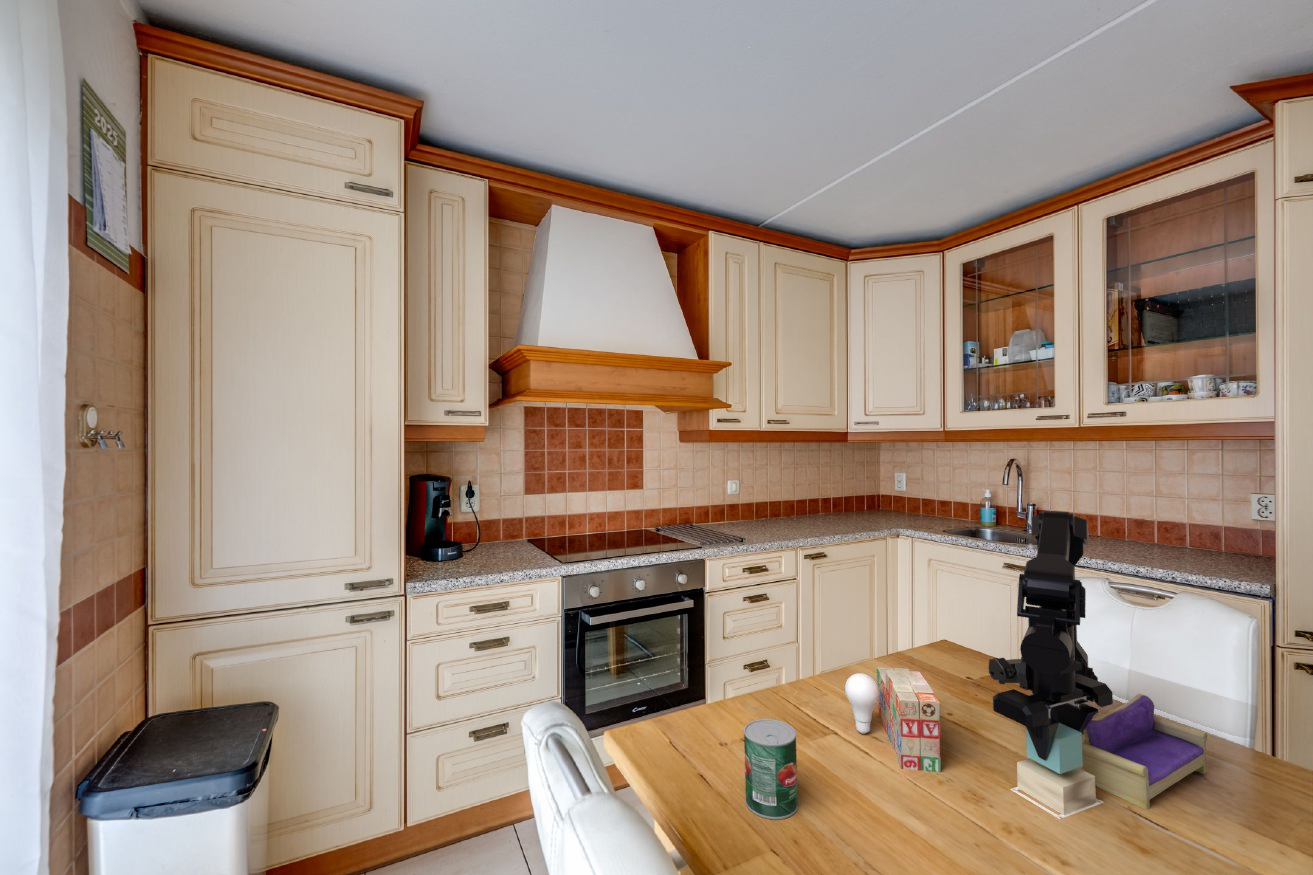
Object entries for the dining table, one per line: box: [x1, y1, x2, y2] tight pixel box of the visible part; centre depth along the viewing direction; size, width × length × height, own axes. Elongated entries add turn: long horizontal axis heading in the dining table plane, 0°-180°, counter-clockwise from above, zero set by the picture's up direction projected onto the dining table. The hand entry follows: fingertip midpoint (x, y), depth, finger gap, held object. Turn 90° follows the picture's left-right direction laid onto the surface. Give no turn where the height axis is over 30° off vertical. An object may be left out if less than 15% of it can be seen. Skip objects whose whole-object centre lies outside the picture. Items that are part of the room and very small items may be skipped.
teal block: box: [1025, 723, 1083, 774], centre depth 87 cm, size 5×5×5 cm
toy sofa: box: [1082, 693, 1208, 810], centre depth 91 cm, size 21×9×10 cm, turn 117°
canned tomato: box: [743, 718, 799, 821], centre depth 87 cm, size 8×8×11 cm
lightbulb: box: [844, 672, 880, 735], centre depth 107 cm, size 6×6×11 cm
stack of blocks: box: [876, 666, 942, 773], centre depth 104 cm, size 21×6×12 cm, turn 169°
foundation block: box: [1016, 758, 1097, 815], centre depth 86 cm, size 7×7×4 cm
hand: (1054, 754), depth 87 cm, fingers closed on teal block, 5 cm apart
